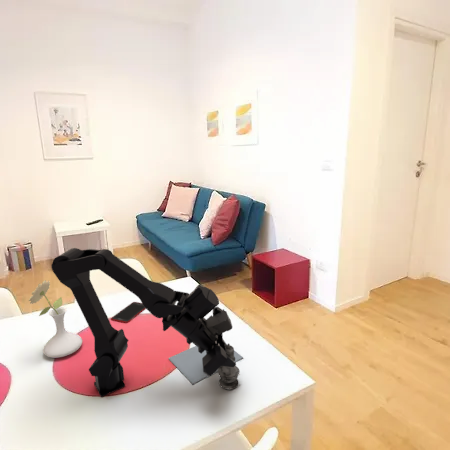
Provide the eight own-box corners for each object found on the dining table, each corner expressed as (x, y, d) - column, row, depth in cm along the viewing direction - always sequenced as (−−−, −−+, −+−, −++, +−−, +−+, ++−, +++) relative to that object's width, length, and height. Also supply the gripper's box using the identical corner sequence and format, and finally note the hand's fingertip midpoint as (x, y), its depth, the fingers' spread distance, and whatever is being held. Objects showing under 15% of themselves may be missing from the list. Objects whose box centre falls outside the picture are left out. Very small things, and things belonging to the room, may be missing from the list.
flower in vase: (68, 336, 113) (58, 268, 107) (90, 346, 108) (81, 274, 102) (31, 357, 103) (17, 282, 96) (52, 369, 97) (39, 291, 91)
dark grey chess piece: (237, 391, 86) (237, 351, 83) (215, 388, 87) (215, 348, 84) (241, 376, 92) (241, 338, 89) (220, 373, 93) (220, 336, 90)
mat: (192, 384, 90) (192, 383, 90) (168, 359, 100) (168, 358, 100) (243, 358, 100) (243, 357, 100) (216, 337, 111) (216, 336, 111)
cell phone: (149, 306, 134) (149, 304, 134) (127, 324, 121) (127, 322, 121) (133, 303, 137) (133, 301, 137) (110, 321, 123) (109, 318, 123)
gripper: (217, 324, 74) (263, 362, 78) (210, 289, 92) (248, 321, 96) (183, 358, 75) (230, 394, 79) (182, 316, 93) (221, 347, 97)
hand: (233, 360), depth 88 cm, fingers closed on dark grey chess piece, 4 cm apart
